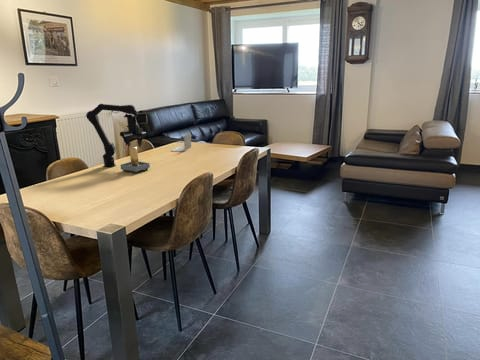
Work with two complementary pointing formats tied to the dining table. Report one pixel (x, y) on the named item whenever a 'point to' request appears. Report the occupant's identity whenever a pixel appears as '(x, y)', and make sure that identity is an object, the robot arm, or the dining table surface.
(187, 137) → the laptop
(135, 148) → the gold cylinder
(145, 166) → the gray rectangular tray
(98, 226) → the dining table surface
